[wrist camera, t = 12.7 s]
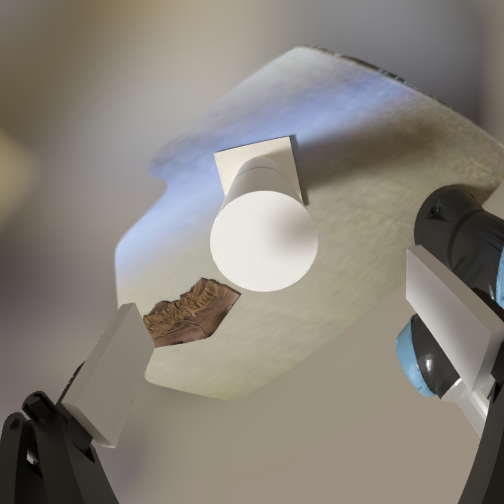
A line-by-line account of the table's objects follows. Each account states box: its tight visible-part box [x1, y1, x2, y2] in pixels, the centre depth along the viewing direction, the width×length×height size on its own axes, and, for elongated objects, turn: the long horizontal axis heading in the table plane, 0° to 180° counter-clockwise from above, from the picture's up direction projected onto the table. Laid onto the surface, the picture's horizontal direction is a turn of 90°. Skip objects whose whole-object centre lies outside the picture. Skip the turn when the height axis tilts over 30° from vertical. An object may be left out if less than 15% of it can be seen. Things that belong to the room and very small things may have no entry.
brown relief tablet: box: [143, 278, 240, 348], centre depth 54 cm, size 26×11×1 cm, turn 122°
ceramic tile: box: [214, 136, 302, 200], centre depth 43 cm, size 11×11×1 cm
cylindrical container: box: [210, 157, 318, 292], centre depth 31 cm, size 7×7×25 cm
